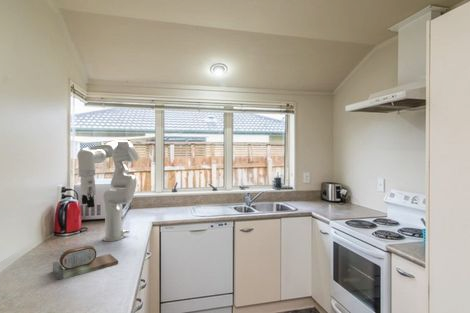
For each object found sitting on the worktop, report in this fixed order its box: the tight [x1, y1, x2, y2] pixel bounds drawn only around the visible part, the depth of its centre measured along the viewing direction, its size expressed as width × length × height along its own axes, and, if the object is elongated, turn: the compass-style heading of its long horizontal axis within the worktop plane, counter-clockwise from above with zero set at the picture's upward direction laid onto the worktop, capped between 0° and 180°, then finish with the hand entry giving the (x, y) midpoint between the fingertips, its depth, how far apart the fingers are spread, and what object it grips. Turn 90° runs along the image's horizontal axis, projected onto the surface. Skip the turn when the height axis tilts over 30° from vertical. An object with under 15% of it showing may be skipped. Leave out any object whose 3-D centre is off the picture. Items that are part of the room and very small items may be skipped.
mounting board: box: [61, 253, 119, 280], centre depth 127 cm, size 23×12×2 cm, turn 133°
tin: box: [59, 245, 97, 269], centre depth 124 cm, size 15×3×8 cm, turn 133°
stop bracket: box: [52, 261, 63, 281], centre depth 118 cm, size 2×12×4 cm, turn 43°
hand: (88, 205), depth 141 cm, fingers open, 9 cm apart
